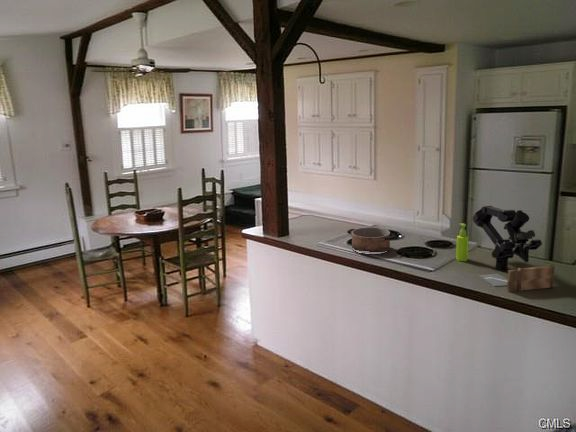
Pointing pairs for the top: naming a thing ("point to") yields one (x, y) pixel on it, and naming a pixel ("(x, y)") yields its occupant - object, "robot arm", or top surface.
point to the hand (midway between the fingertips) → (527, 261)
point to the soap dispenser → (462, 245)
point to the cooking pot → (371, 239)
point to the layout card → (495, 279)
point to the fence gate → (537, 277)
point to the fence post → (514, 280)
